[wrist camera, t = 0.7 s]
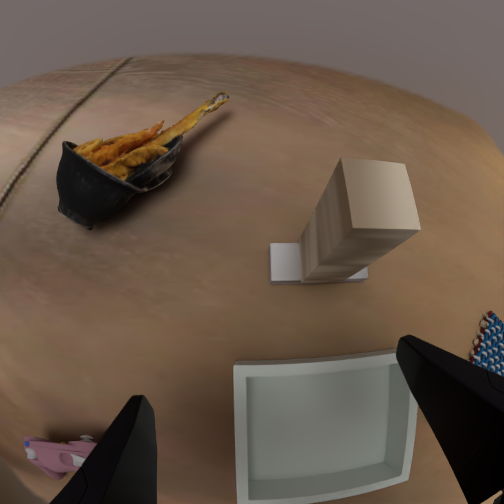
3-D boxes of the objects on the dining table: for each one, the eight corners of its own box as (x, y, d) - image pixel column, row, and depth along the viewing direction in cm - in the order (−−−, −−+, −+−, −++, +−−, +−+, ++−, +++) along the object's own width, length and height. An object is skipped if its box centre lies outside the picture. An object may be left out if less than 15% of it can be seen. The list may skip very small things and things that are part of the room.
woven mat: (520, 348, 22) (530, 347, 20) (487, 426, 19) (498, 429, 17) (481, 307, 23) (493, 304, 21) (443, 396, 21) (454, 399, 19)
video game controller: (130, 442, 20) (88, 429, 15) (138, 486, 17) (94, 486, 12) (55, 441, 19) (9, 424, 14) (59, 479, 16) (11, 469, 11)
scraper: (357, 246, 25) (439, 169, 12) (361, 284, 24) (456, 230, 11) (268, 246, 24) (290, 154, 12) (269, 286, 23) (296, 227, 11)
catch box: (394, 348, 22) (418, 348, 18) (388, 464, 18) (408, 479, 15) (235, 360, 22) (233, 365, 18) (238, 484, 18) (237, 507, 14)
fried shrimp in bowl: (30, 187, 21) (134, 31, 20) (112, 221, 30) (199, 90, 29) (38, 229, 16) (182, 17, 15) (146, 264, 25) (255, 101, 24)
